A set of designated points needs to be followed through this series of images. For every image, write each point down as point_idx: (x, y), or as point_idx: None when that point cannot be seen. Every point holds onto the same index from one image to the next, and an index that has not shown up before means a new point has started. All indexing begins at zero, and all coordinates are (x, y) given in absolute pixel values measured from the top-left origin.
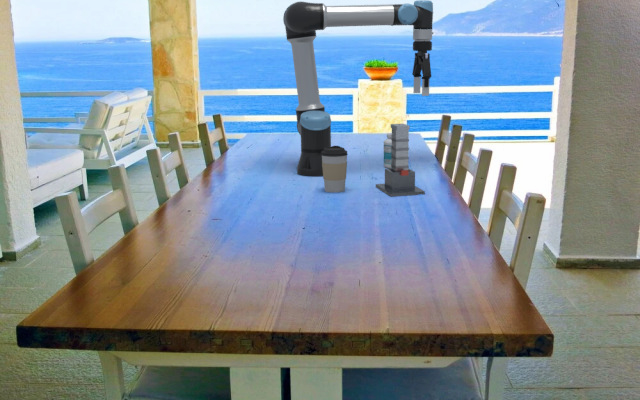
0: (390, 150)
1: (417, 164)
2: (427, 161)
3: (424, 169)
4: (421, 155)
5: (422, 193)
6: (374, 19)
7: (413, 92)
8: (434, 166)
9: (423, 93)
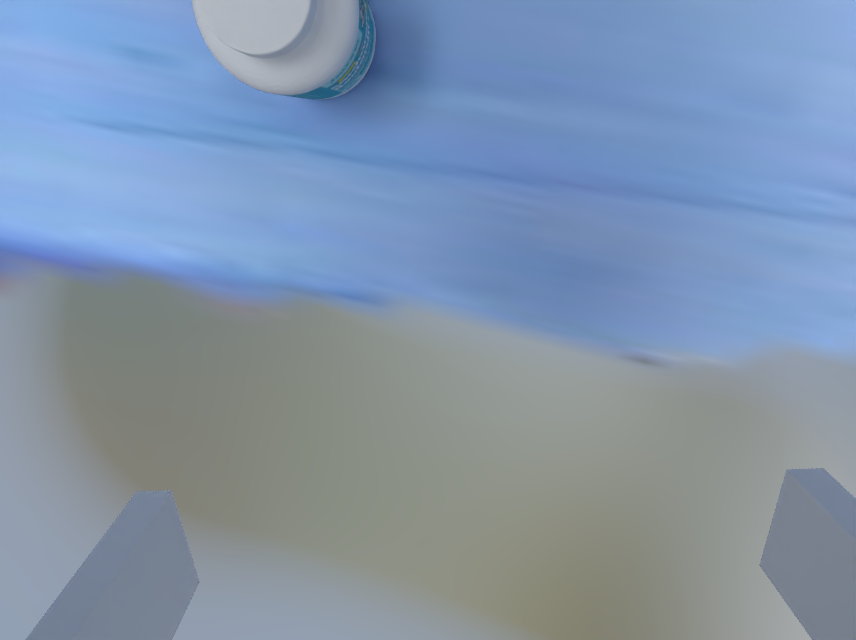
0: None
1: (390, 209)
2: (473, 283)
3: (234, 215)
4: (673, 292)
5: None
6: None
7: (828, 476)
8: (319, 286)
9: (119, 540)
